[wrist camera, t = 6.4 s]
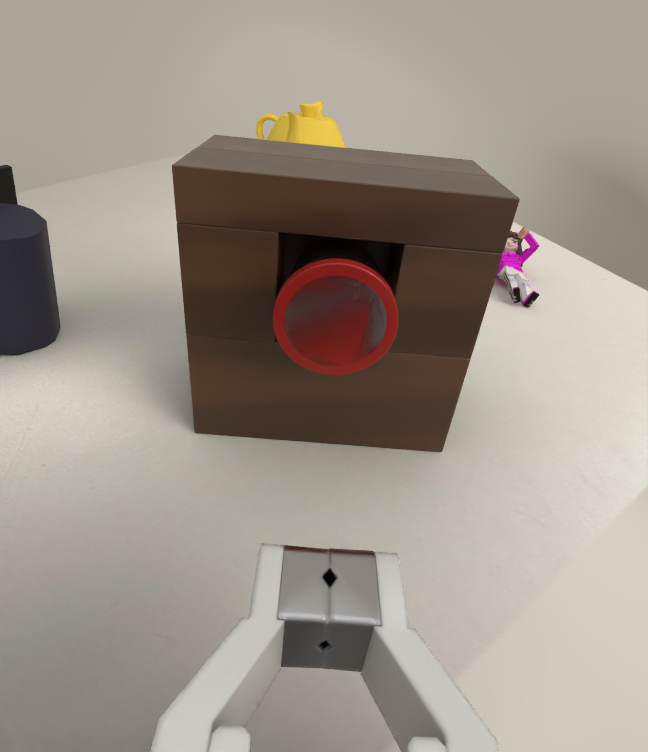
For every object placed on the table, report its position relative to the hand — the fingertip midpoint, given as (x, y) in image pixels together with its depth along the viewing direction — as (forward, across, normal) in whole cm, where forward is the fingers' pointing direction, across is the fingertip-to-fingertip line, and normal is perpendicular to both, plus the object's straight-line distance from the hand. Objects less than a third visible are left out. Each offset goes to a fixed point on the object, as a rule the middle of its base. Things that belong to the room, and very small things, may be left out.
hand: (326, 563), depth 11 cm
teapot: (+72, -5, -9) cm, 73 cm away
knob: (+13, 0, -3) cm, 13 cm away
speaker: (+23, -21, -9) cm, 32 cm away
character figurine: (+40, +19, -9) cm, 45 cm away
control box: (+18, 0, -9) cm, 20 cm away
